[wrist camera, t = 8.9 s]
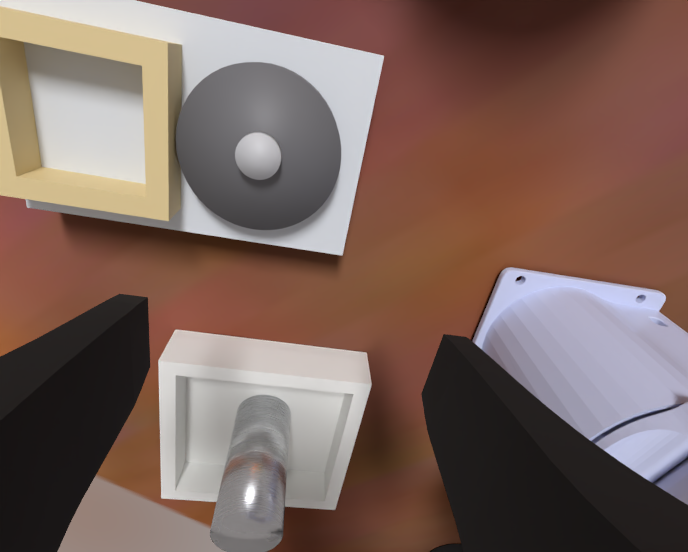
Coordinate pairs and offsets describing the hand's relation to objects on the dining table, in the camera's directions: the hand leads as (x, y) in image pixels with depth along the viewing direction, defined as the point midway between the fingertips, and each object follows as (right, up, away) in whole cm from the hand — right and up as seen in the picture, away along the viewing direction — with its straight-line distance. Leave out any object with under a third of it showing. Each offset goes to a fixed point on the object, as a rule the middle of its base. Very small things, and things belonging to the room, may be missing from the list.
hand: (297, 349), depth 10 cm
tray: (-4, -6, +15) cm, 17 cm away
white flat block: (-5, +8, +7) cm, 12 cm away
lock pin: (-4, -6, +14) cm, 16 cm away
